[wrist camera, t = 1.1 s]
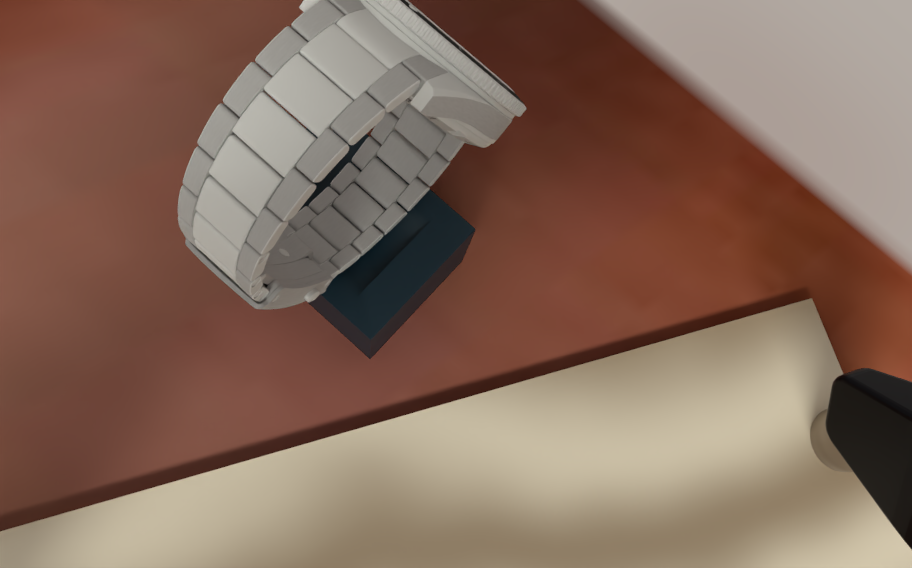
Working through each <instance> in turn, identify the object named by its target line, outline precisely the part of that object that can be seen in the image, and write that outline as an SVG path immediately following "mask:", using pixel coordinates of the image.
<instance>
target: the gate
mask: <svg viewBox="0 0 912 568" xmlns="http://www.w3.org/2000/svg"><path fill="white" fill-rule="evenodd" d="M842 374H843V372H842V369H841V367H840V365H839V362H838V360H837V357H836V355H835V353H834V350H833V348H832V345H831V343H830V341H829V338H828V336H827V333H826V331H825V328H824V326H823V324H822V321H821V319H820V316H819V314H818V312H817V309H816V307H815V304H814V302H813V300H812V298H811V299H807V300H804V301H800V302H797V303H793V304H790V305H786V306H783V307H779V308H776V309H772V310H769V311H765V312H762V313H759V314H755V315H752V316H748V317H745V318H741V319H738V320H734V321H731V322H727V323H724V324H720V325H717V326H713V327H710V328H706V329H703V330H699V331H696V332H692V333H689V334H685V335H682V336H679V337H675V338H672V339H668V340H665V341H661V342H658V343H654V344H651V345H647V346H644V347H640V348H637V349H633V350H630V351H626V352H623V353H619V354H616V355H612V356H609V357H606V358H602V359H599V360H595V361H592V362H588V363H585V364H581V365H578V366H574V367H571V368H567V369H564V370H560V371H557V372H553V373H550V374H546V375H543V376H539V377H536V378H532V379H529V380H526V381H522V382H519V383H515V384H512V385H508V386H505V387H501V388H498V389H494V390H491V391H487V392H484V393H480V394H477V395H473V396H470V397H466V398H463V399H459V400H456V401H452V402H449V403H446V404H442V405H439V406H435V407H432V408H428V409H425V410H421V411H418V412H414V413H411V414H407V415H404V416H400V417H397V418H393V419H390V420H386V421H383V422H379V423H376V424H372V425H369V426H366V427H362V428H359V429H355V430H352V431H348V432H345V433H341V434H338V435H334V436H331V437H327V438H324V439H320V440H317V441H313V442H310V443H306V444H303V445H299V446H296V447H293V448H289V449H286V450H282V451H279V452H275V453H272V454H268V455H265V456H261V457H258V458H254V459H251V460H247V461H244V462H240V463H237V464H233V465H230V466H226V467H223V468H219V469H216V470H213V471H209V472H206V473H202V474H199V475H195V476H192V477H188V478H185V479H181V480H178V481H174V482H171V483H167V484H164V485H160V486H157V487H153V488H150V489H146V490H143V491H139V492H136V493H133V494H129V495H126V496H122V497H119V498H115V499H112V500H108V501H105V502H101V503H98V504H94V505H91V506H87V507H84V508H80V509H77V510H73V511H70V512H66V513H63V514H60V515H56V516H53V517H49V518H46V519H42V520H39V521H35V522H32V523H28V524H25V525H21V526H18V527H14V528H11V529H7V530H4V531H0V568H912V549H911V548H910V547H909V546H908V545H907V543H906V542H905V541H904V540H903V539H902V537H901V536H900V535H899V533H898V532H897V531H896V530H895V528H894V527H893V526H892V524H891V523H890V522H889V520H888V519H887V518H886V516H885V515H884V513H883V512H882V511H881V509H880V508H879V507H878V505H877V504H876V502H875V501H874V500H873V498H872V497H871V496H870V494H869V493H868V491H867V490H866V489H865V487H864V486H863V485H862V483H861V482H860V480H859V479H858V478H857V476H856V475H855V474H854V472H853V471H852V469H851V468H850V467H849V465H848V464H847V463H846V461H845V460H844V458H843V457H842V456H841V454H840V453H839V452H838V450H837V449H836V447H835V446H834V445H833V443H832V442H831V440H830V438H829V436H828V434H827V431H826V426H825V420H826V415H827V409H828V404H829V398H830V393H831V388H832V384H833V381H834V380H835V379H836V378H837V377H838V376H840V375H842Z"/></svg>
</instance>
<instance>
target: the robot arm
mask: <svg viewBox="0 0 912 568" xmlns="http://www.w3.org/2000/svg"><path fill="white" fill-rule="evenodd" d="M825 426H826V431H827V434H828V436H829V438H830V440H831V442H832V443H833V445H834V446H835V447H836V449H837V450H838V452H839V453H840V454H841V456H842V457H843V458H844V460H845V461H846V463H847V464H848V465H849V467H850V468H851V469H852V471H853V472H854V474H855V475H856V476H857V478H858V479H859V480H860V482H861V483H862V485H863V486H864V487H865V489H866V490H867V491H868V493H869V494H870V496H871V497H872V498H873V500H874V501H875V502H876V504H877V505H878V507H879V508H880V509H881V511H882V512H883V513H884V515H885V516H886V518H887V519H888V520H889V522H890V523H891V524H892V526H893V527H894V528H895V530H896V531H897V532H898V533H899V535H900V536H901V537H902V539H903V540H904V541H905V542H906V543H907V545H908V546H909V547H910V548H911V549H912V382H910V381H907V380H904V379H901V378H898V377H895V376H892V375H888V374H885V373H882V372H879V371H876V370H873V369H869V368H861V369H857V370H854V371H851V372H848V373H845V374H842V375H840V376H838V377H837V378H836V379H835V380H834V381H833V384H832V388H831V393H830V398H829V404H828V409H827V415H826V420H825Z"/></svg>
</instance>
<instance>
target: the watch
mask: <svg viewBox="0 0 912 568" xmlns="http://www.w3.org/2000/svg"><path fill="white" fill-rule="evenodd" d="M299 8H300V9H301V10H302V11H303V12H304V13H303V14H301V15H300V16H299V17H298V18H297V19H296V20H295V21H294V22H293V23H292V25H291V27H292V28H290V27H289V26H287V27H285V28H284V29H283V30H282V31H281V32H280V33H279V34H278V35H277V36H276V37H275V38H274V39H273V40H272V41H271V42H270V43H269V44H268V45H267V46H266V47H265V48H264V49H263V50H262V51H261V52H260V53H259V55H258V56H257V57H256V59H255V61H256V63H257V64H258V65H259V66H260V67H261V68H262V69H264V70H265V71H266V72H267V73H268V74H269V75H270V76H272V77H270V76H269V75H268V74H267V73H266V72H265V71H264V70H262V69H261V68H260V67H259V66H258V65H257V64H256V63H254V62H251V63H250V64H249V65H248V66H247V67H246V68H245V70H244V71H243V72H242V73H241V75H240V76H239V77H238V79H237V80H236V81H235V83H234V84H233V85H232V87H231V88H230V90H229V91H228V92H227V94H226V95H225V97H224V99H223V102H224V104H219V105H218V106H217V107H216V109H215V110H214V112H213V114H212V115H211V117H210V119H209V120H208V122H207V124H206V126H205V128H204V130H203V132H202V133H201V135H200V137H199V140H198V145H199V146H198V147H196V148H195V150H194V152H193V154H192V156H191V159H190V161H189V164H188V166H187V169H186V172H185V175H184V179H183V184H184V185H183V186H182V187H181V190H180V194H179V201H178V215H179V216H178V222H179V226H180V229H181V231H182V232H183V233H184V236H185V237H186V243H185V244H186V246H187V247H188V248H189V249H190V250H191V251H192V252H193V253H194V254H195V255H196V256H197V257H198V258H199V259H200V260H201V261H202V262H203V263H204V264H205V265H206V266H207V267H208V268H209V269H210V270H211V271H212V272H213V273H214V274H215V275H217V276H218V277H219V278H220V279H221V280H222V281H223V282H224V283H226V284H227V285H228V286H229V287H230V288H231V289H232V290H233V291H235V292H236V293H237V294H238V295H239V296H240V297H242V298H243V299H244V300H245V301H247V302H248V303H249V304H250V305H251V306H253V307H254V308H255V309H280V308H286V307H290V306H293V305H297V304H299V303H302V302H305V301H307V302H308V303H309V304H310V305H311V306H312V307H313V308H314V309H316V310H317V311H318V312H319V313H320V314H321V315H322V316H323V317H324V318H325V319H327V320H328V321H329V322H330V323H331V324H332V325H333V326H334V327H335V328H336V329H338V330H339V331H340V332H341V333H342V334H343V335H344V336H345V337H346V338H347V339H349V340H350V341H351V342H352V343H353V344H354V345H355V346H356V347H357V348H358V349H360V350H361V351H362V352H363V353H364V354H365V355H366V356H367V357H368V358H369V359H371V358H372V357H373V355H374V354H375V353H376V352H377V351H378V350H379V349H380V348H381V347H382V346H383V345H384V344H385V343H386V342H387V341H388V339H389V338H390V337H391V336H392V335H393V334H394V333H395V332H396V331H397V330H398V329H399V328H400V327H401V326H402V325H403V323H404V322H405V321H406V320H407V319H408V318H409V317H410V316H411V315H412V314H413V313H414V312H415V311H416V310H417V309H418V307H419V306H420V305H421V304H422V303H423V302H424V301H425V300H426V299H427V298H428V297H429V296H430V295H431V294H432V293H433V291H434V290H435V289H436V288H437V287H438V286H439V285H440V284H441V283H442V282H443V281H444V280H445V279H446V278H447V277H448V276H449V274H450V273H451V272H452V271H453V270H454V269H455V268H456V267H457V266H458V265H459V264H460V263H461V262H462V260H463V257H464V255H465V253H466V250H467V248H468V246H469V244H470V241H471V239H472V237H473V234H474V232H475V230H476V229H475V228H474V227H473V226H471V225H470V224H469V223H468V222H467V221H466V220H465V219H463V218H462V217H461V216H460V215H459V214H458V213H457V212H455V211H454V210H453V209H452V208H451V207H450V206H448V205H447V204H446V203H445V202H444V201H443V200H442V199H440V198H439V197H438V196H437V195H436V194H435V193H434V192H432V191H431V190H430V187H429V186H432V185H433V184H434V183H435V181H436V180H437V179H438V178H439V177H440V175H441V174H442V173H443V172H444V171H445V169H446V168H447V167H448V166H449V164H450V161H451V160H452V159H453V158H454V157H455V155H456V154H457V153H458V151H459V150H460V149H461V147H462V146H463V144H464V143H467V144H470V145H474V146H478V147H482V148H485V147H488V146H489V145H490V144H494V142H495V141H496V140H497V139H498V138H499V137H500V136H501V134H502V133H503V132H504V131H505V129H506V128H507V127H508V126H509V124H510V123H511V122H512V119H513V118H514V116H515V115H516V116H518V117H520V116H521V115H522V114H523V112H524V111H525V110H526V107H525V105H524V103H523V102H522V101H521V100H520V99H519V97H518V96H517V95H516V94H515V93H514V91H513V90H512V89H511V88H510V87H509V86H508V85H507V84H506V83H504V82H503V81H502V80H501V79H500V78H499V77H497V76H496V75H495V74H494V73H493V72H492V71H490V70H489V69H488V68H487V67H486V66H485V65H483V64H482V63H481V62H480V61H479V60H477V59H476V58H475V57H474V56H473V55H472V54H470V53H469V52H468V51H467V50H466V49H464V48H463V47H462V46H461V45H460V44H459V43H457V42H456V41H455V40H454V39H453V38H452V37H450V36H449V35H448V34H447V33H446V32H444V31H443V30H442V29H441V28H440V27H439V26H437V25H436V24H435V23H434V22H433V21H431V20H430V19H429V18H428V17H427V16H426V15H424V14H423V13H422V12H421V11H420V10H418V9H417V8H416V7H415V6H414V5H412V4H411V3H410V2H409V1H408V0H303V2H302V3H301V5H300V6H299ZM267 94H269V95H270V96H271V97H272V98H274V99H275V100H276V101H277V102H278V103H279V104H280V105H282V106H283V107H284V108H285V109H286V110H287V111H288V112H289V113H291V114H292V115H293V116H294V117H295V118H296V119H297V120H299V121H300V122H301V123H302V124H303V125H304V126H305V127H307V129H305V128H304V127H303V126H302V125H301V124H300V123H298V122H297V121H296V120H295V119H294V118H293V117H292V116H291V115H289V114H288V113H287V112H286V111H285V110H284V109H283V108H281V107H280V106H279V105H278V104H277V103H276V102H275V101H273V100H272V99H271V98H270V97H269V96H268V95H267ZM225 104H226V105H227V106H228V107H227V106H226V105H225ZM234 112H235V113H236V114H237V115H236V114H235V113H234ZM374 126H375V127H374ZM373 127H374V129H373V131H372V132H371V136H372V137H369V136H368V135H367V134H366V133H368V132H369V131H370V130H371V129H372V128H373ZM401 134H402V135H401ZM374 138H375V139H376V140H377V141H378V142H379V143H378V142H377V141H376V140H375V139H374ZM408 140H409V141H408ZM416 147H417V148H416ZM423 153H424V154H423ZM418 177H419V178H418ZM421 179H422V180H423V181H424V182H425V183H426V184H425V183H424V182H423V181H422V180H421Z"/></svg>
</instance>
